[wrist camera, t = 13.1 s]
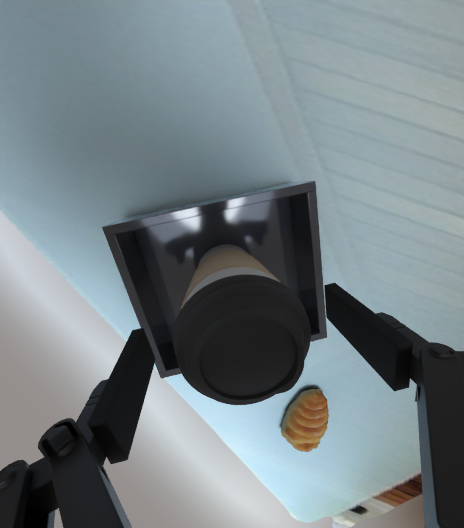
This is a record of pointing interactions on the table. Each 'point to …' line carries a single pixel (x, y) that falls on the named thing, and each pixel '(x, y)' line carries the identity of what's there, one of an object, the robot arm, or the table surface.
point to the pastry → (306, 420)
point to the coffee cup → (240, 330)
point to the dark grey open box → (207, 237)
